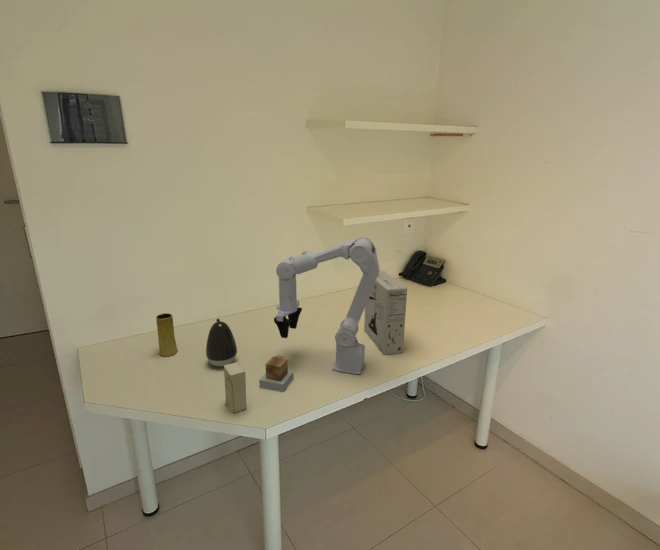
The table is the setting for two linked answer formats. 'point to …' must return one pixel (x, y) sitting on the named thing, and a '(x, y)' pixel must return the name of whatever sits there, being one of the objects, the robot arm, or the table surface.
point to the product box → (386, 314)
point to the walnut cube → (276, 368)
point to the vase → (166, 335)
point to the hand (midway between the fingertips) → (288, 332)
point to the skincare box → (235, 387)
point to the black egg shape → (220, 345)
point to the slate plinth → (276, 382)
